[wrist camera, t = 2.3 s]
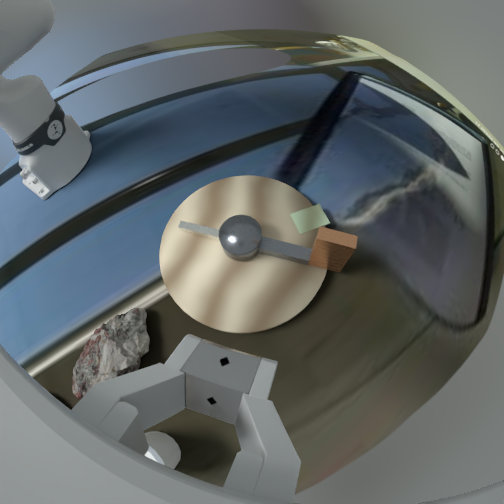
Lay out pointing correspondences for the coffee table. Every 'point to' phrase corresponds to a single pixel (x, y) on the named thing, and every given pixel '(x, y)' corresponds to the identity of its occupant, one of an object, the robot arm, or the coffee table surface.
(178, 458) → the white cylinder
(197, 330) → the coffee table surface
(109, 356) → the mineral rock
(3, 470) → the robot arm
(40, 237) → the coffee table surface
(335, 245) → the grey pivot bar
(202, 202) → the stand
